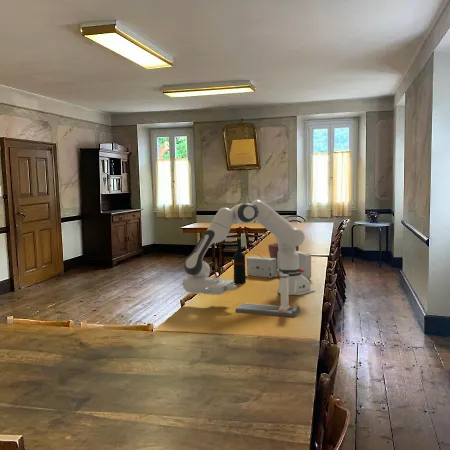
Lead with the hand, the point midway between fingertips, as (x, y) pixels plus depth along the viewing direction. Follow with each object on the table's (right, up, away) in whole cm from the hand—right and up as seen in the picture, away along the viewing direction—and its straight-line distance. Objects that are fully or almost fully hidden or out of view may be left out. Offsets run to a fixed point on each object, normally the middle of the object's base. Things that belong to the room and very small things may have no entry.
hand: (236, 287), depth 235 cm
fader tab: (+24, -9, -9) cm, 27 cm away
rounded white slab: (+42, -4, +79) cm, 90 cm away
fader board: (+16, -11, -6) cm, 20 cm away
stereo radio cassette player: (+20, -4, +84) cm, 86 cm away
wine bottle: (+4, -6, +64) cm, 65 cm away
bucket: (+39, -1, +112) cm, 118 cm away
